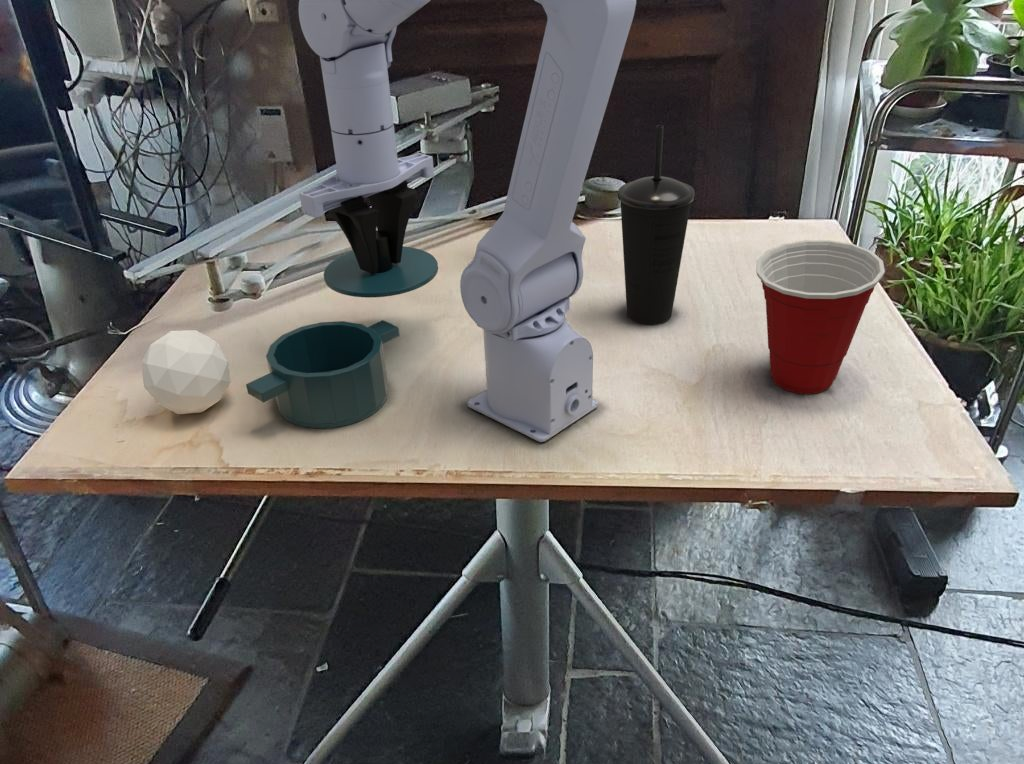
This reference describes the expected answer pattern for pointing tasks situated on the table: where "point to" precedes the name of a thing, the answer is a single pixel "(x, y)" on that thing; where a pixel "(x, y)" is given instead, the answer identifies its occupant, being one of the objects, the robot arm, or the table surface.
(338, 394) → the pot
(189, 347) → the ball
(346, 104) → the robot arm
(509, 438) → the table surface
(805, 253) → the plastic cup
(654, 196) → the drinking cup
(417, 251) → the lid
